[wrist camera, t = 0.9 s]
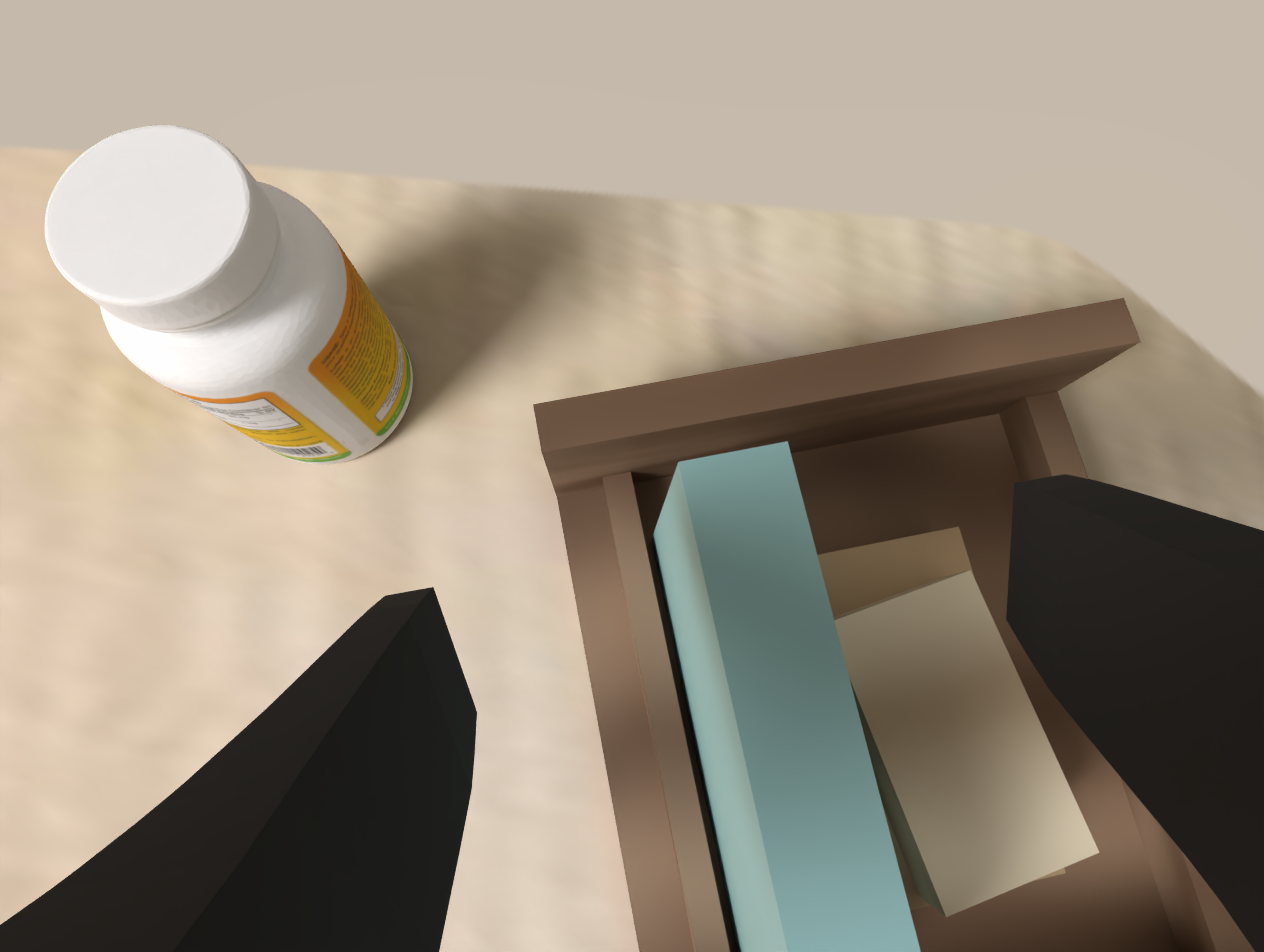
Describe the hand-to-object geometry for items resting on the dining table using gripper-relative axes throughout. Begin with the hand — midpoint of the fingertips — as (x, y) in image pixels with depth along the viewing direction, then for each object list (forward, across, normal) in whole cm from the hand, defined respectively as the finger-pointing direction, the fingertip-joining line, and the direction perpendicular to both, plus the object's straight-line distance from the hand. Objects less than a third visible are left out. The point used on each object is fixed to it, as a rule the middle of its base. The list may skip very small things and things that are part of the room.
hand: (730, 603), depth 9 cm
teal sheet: (+8, 0, +10) cm, 13 cm away
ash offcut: (+6, -5, +10) cm, 13 cm away
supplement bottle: (+16, +10, 0) cm, 19 cm away
